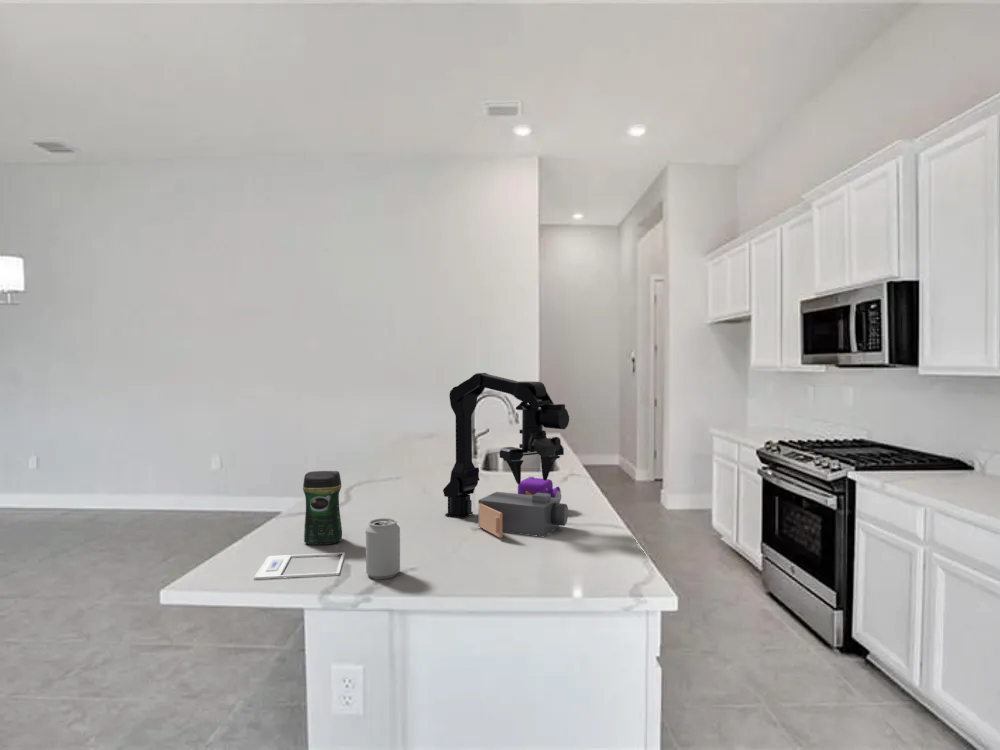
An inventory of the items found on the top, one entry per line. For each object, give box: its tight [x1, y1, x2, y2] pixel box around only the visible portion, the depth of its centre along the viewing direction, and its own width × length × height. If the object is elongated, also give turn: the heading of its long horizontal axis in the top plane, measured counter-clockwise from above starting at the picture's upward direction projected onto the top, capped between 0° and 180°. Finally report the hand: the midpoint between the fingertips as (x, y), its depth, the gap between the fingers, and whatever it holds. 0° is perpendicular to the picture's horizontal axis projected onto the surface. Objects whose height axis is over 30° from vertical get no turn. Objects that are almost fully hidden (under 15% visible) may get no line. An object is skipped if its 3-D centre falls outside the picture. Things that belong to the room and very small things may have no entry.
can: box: [365, 517, 401, 580], centre depth 137 cm, size 8×8×12 cm
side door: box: [479, 503, 503, 538], centre depth 167 cm, size 12×2×6 cm, turn 29°
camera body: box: [477, 491, 569, 537], centre depth 174 cm, size 23×12×10 cm, turn 64°
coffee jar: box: [302, 470, 343, 546], centre depth 161 cm, size 10×8×19 cm
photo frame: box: [253, 552, 346, 581], centre depth 142 cm, size 15×1×18 cm
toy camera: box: [517, 475, 562, 502], centre depth 194 cm, size 11×14×10 cm
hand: (531, 482), depth 172 cm, fingers open, 9 cm apart
